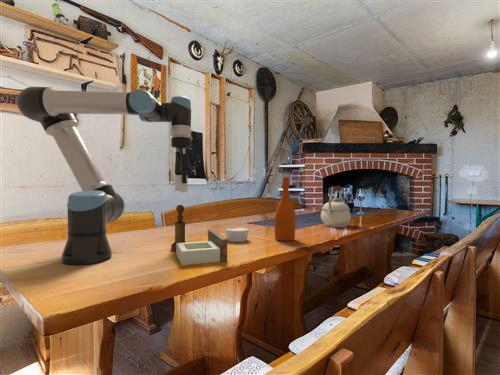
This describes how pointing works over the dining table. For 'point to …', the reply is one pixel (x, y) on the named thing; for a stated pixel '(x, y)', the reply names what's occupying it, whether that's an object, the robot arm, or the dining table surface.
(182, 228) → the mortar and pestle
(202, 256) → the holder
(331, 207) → the kettle
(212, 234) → the backstop wall
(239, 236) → the ramekin
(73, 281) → the dining table surface
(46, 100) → the robot arm
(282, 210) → the wine bottle
